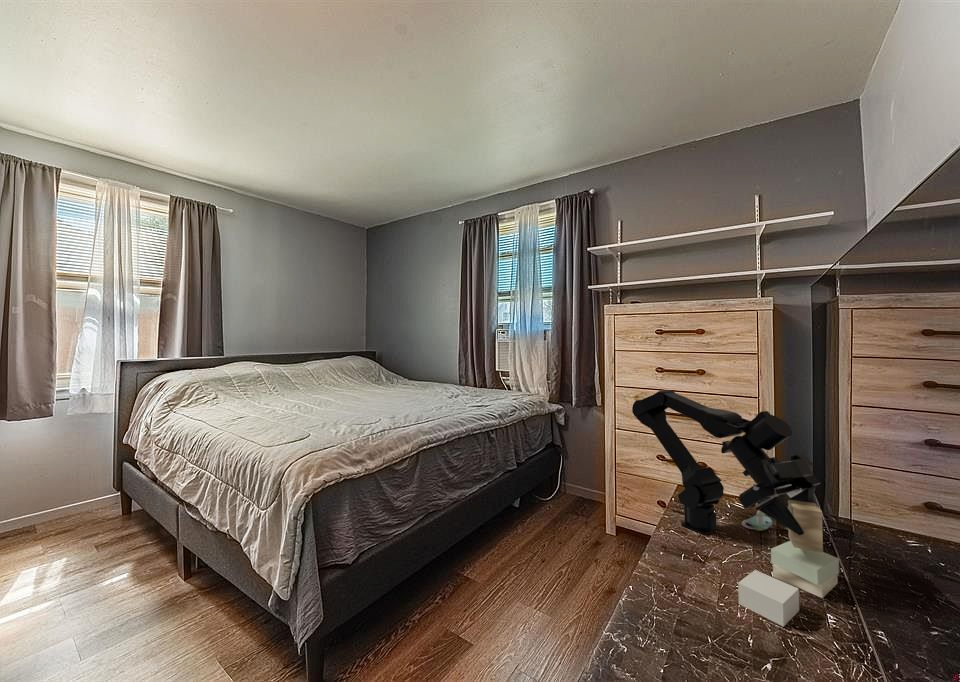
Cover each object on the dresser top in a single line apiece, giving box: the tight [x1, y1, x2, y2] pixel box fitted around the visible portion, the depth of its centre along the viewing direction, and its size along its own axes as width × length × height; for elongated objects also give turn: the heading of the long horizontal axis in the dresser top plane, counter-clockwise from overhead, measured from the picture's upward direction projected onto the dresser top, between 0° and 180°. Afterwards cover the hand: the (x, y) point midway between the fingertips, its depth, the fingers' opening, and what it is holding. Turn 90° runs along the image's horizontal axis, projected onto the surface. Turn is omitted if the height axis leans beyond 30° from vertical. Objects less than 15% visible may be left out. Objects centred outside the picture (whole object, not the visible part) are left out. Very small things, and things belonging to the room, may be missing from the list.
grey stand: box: [737, 569, 800, 628], centre depth 71 cm, size 7×7×4 cm
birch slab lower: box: [772, 564, 839, 599], centre depth 79 cm, size 8×8×3 cm
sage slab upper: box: [770, 540, 840, 585], centre depth 79 cm, size 8×8×3 cm
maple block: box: [787, 499, 824, 553], centre depth 78 cm, size 4×4×8 cm
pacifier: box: [741, 510, 773, 532], centre depth 101 cm, size 7×6×6 cm
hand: (812, 531), depth 77 cm, fingers closed on maple block, 6 cm apart
